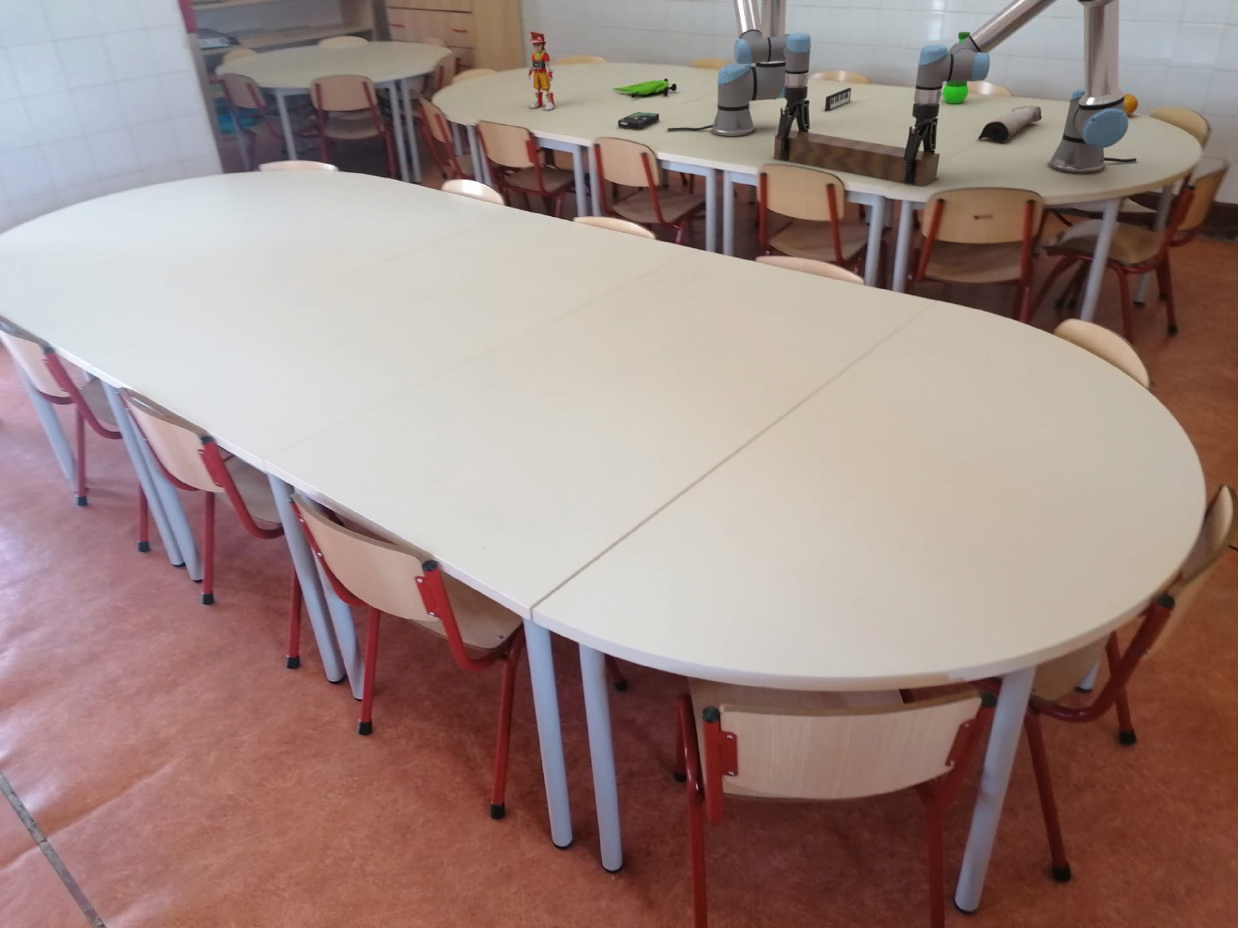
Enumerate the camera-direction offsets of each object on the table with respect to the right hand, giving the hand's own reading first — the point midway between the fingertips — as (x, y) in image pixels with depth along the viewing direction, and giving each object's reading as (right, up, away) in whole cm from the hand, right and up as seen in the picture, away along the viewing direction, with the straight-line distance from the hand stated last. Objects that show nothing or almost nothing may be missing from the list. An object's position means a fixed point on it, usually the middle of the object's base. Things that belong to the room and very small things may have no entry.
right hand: (916, 178), depth 280 cm
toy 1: (-126, +63, +103) cm, 175 cm away
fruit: (+91, +38, +48) cm, 110 cm away
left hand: (-34, +16, +26) cm, 46 cm away
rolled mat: (+46, +28, +37) cm, 66 cm away
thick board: (-17, +8, +13) cm, 23 cm away
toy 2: (-83, +76, +117) cm, 163 cm away
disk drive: (-85, +44, +72) cm, 120 cm away
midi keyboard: (-5, +55, +80) cm, 97 cm away
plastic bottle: (+40, +54, +75) cm, 101 cm away
